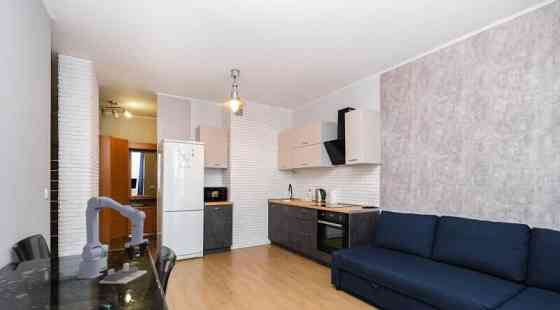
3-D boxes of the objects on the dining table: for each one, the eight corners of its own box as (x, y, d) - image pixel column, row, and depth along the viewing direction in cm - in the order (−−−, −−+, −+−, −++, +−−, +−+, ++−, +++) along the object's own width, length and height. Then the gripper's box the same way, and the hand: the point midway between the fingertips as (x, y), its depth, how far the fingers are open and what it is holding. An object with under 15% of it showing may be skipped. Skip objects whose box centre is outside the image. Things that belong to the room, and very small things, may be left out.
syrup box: (99, 271, 163) (101, 246, 165) (91, 271, 164) (92, 246, 166) (107, 269, 169) (108, 244, 171) (99, 268, 170) (100, 244, 172)
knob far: (123, 268, 156) (123, 264, 157) (126, 267, 159) (126, 262, 159) (125, 268, 156) (126, 264, 156) (129, 267, 159) (129, 262, 159)
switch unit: (99, 283, 142) (99, 277, 143) (124, 272, 161) (124, 266, 161) (124, 283, 141) (125, 277, 141) (146, 272, 160) (147, 266, 160)
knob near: (107, 275, 145) (107, 270, 145) (111, 273, 147) (111, 268, 148) (110, 275, 144) (110, 270, 145) (114, 273, 147) (114, 268, 147)
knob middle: (122, 271, 150) (122, 267, 150) (126, 270, 153) (126, 265, 153) (125, 271, 150) (125, 267, 150) (128, 270, 153) (128, 265, 153)
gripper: (132, 235, 147) (131, 262, 145) (152, 231, 161) (151, 255, 159) (122, 235, 149) (120, 261, 147) (143, 231, 163) (142, 255, 161)
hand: (136, 258), depth 153 cm, fingers open, 7 cm apart
